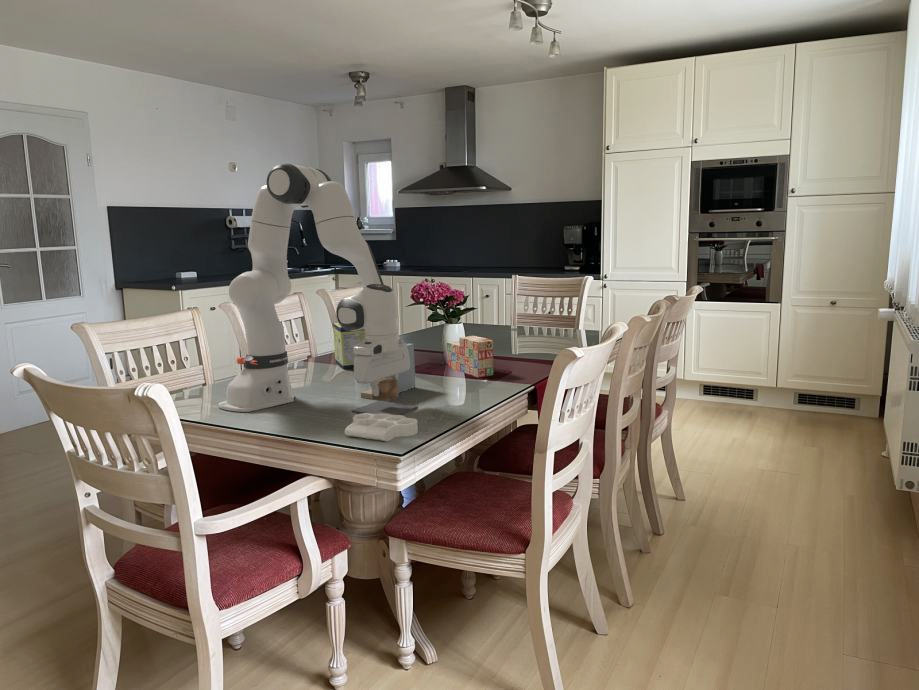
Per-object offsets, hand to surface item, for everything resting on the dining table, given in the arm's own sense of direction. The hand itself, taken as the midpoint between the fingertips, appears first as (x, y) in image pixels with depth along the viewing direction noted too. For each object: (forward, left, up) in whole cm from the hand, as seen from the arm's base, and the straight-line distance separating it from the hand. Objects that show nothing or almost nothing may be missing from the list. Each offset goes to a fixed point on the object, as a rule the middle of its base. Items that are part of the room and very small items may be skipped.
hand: (384, 392), depth 187 cm
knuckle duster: (-16, -12, -6) cm, 21 cm away
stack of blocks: (+54, +7, -5) cm, 55 cm away
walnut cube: (0, 0, -2) cm, 2 cm away
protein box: (+45, +53, -5) cm, 70 cm away
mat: (0, 0, -5) cm, 5 cm away
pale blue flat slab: (+17, +13, -5) cm, 22 cm away
